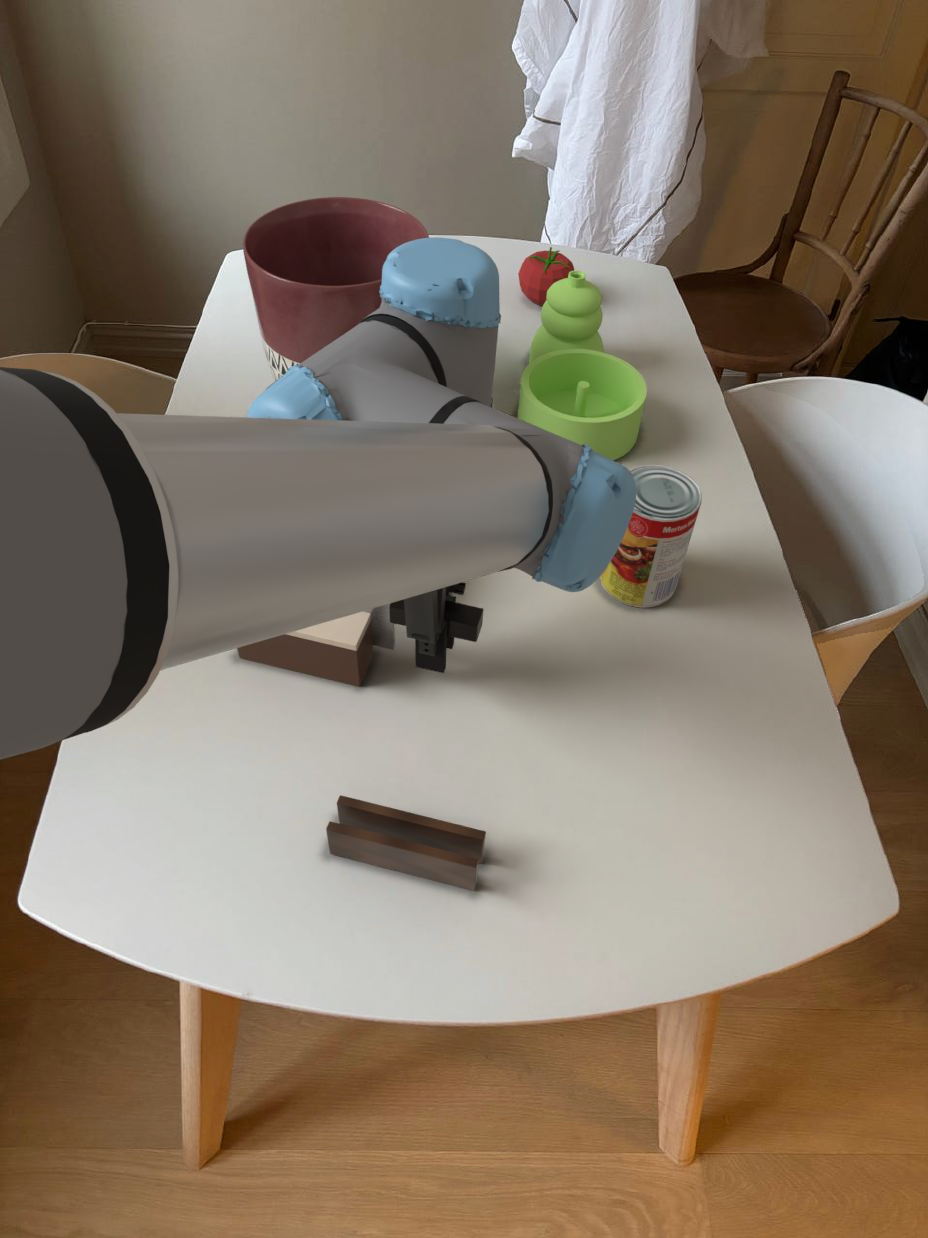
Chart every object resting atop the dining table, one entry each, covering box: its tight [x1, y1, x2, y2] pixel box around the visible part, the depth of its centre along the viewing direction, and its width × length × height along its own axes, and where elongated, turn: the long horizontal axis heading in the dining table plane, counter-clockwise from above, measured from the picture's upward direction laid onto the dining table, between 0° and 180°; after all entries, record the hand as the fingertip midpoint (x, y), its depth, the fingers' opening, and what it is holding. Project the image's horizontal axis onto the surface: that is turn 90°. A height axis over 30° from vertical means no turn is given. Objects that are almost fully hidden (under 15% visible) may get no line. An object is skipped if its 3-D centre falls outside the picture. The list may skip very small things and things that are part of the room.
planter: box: [242, 196, 430, 382], centre depth 106 cm, size 20×20×21 cm
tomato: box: [518, 246, 575, 306], centre depth 130 cm, size 8×8×8 cm
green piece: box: [517, 269, 648, 461], centre depth 112 cm, size 25×15×13 cm, turn 2°
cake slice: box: [236, 611, 374, 687], centre depth 86 cm, size 4×12×6 cm, turn 75°
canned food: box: [599, 464, 703, 609], centre depth 92 cm, size 8×8×12 cm
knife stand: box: [325, 795, 487, 892], centre depth 74 cm, size 12×3×4 cm, turn 75°
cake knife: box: [363, 599, 484, 651], centre depth 86 cm, size 24×2×7 cm, turn 75°
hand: (434, 654), depth 87 cm, fingers closed on cake knife, 2 cm apart
